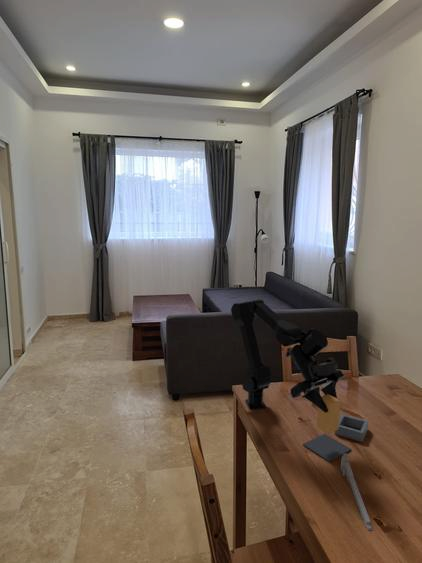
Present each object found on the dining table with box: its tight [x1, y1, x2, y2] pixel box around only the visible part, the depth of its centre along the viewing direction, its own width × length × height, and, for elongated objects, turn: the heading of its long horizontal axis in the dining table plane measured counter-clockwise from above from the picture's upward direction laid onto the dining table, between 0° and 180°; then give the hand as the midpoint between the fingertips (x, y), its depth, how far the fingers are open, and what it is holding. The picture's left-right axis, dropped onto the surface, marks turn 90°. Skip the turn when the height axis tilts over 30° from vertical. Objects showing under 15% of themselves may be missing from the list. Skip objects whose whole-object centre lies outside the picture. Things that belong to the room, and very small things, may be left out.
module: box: [316, 394, 341, 435], centre depth 113 cm, size 4×4×10 cm
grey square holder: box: [334, 413, 369, 443], centre depth 123 cm, size 8×8×3 cm
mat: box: [302, 433, 352, 463], centre depth 115 cm, size 10×10×1 cm
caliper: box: [340, 453, 373, 531], centre depth 94 cm, size 20×1×6 cm, turn 178°
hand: (332, 409), depth 112 cm, fingers closed on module, 4 cm apart
